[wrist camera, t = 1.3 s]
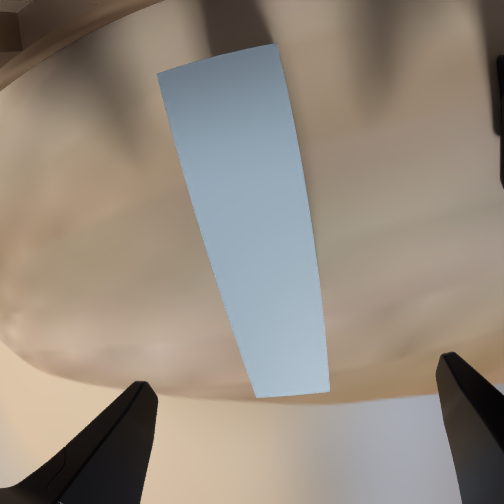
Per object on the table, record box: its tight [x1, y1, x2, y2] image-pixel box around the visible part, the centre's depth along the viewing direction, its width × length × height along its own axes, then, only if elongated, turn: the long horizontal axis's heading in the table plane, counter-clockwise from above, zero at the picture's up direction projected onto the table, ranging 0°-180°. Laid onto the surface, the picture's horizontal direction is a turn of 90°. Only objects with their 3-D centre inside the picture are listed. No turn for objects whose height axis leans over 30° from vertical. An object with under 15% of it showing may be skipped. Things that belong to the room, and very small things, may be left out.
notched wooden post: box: [0, 0, 163, 91], centre depth 7 cm, size 14×2×6 cm, turn 102°
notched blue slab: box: [157, 43, 330, 398], centre depth 10 cm, size 2×10×6 cm, turn 12°
